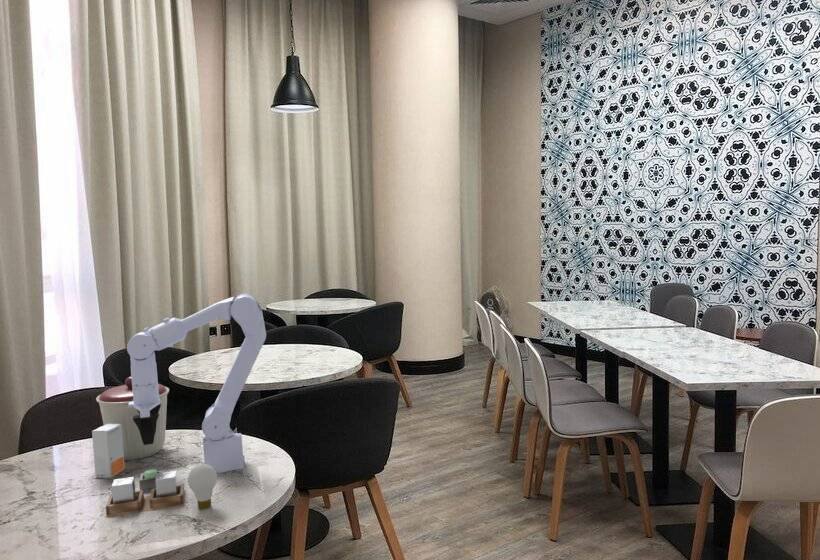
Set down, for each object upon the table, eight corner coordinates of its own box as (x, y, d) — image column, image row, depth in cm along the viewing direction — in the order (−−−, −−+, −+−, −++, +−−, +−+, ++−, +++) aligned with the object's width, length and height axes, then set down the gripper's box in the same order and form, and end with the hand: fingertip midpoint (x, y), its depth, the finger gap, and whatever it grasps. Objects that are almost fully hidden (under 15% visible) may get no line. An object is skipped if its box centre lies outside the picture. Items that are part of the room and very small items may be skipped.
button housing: (163, 485, 159) (162, 470, 159) (161, 492, 154) (160, 477, 154) (142, 488, 158) (141, 473, 157) (140, 495, 153) (139, 480, 153)
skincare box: (110, 479, 164) (106, 431, 163) (95, 478, 165) (90, 430, 164) (126, 470, 170) (122, 423, 169) (110, 469, 171) (106, 423, 170)
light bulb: (203, 519, 139) (200, 472, 138) (184, 513, 142) (180, 467, 141) (225, 508, 144) (222, 462, 143) (206, 503, 147) (202, 458, 146)
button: (158, 485, 158) (157, 468, 157) (157, 489, 155) (156, 472, 155) (145, 487, 157) (144, 470, 157) (144, 491, 154) (143, 474, 154)
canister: (125, 442, 192) (119, 369, 190) (185, 442, 190) (180, 368, 188) (86, 465, 175) (79, 385, 173) (152, 466, 172) (145, 384, 170)
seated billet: (177, 494, 150) (175, 470, 149) (177, 501, 146) (175, 477, 146) (158, 497, 149) (156, 473, 148) (157, 504, 145) (155, 480, 144)
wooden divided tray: (185, 494, 153) (184, 482, 152) (184, 509, 145) (183, 496, 144) (110, 505, 148) (109, 493, 148) (105, 521, 140) (104, 508, 140)
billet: (136, 501, 148) (134, 476, 147) (134, 508, 144) (132, 483, 143) (116, 504, 146) (114, 479, 146) (113, 511, 143) (111, 486, 142)
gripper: (129, 378, 166) (134, 432, 168) (123, 392, 153) (128, 451, 154) (160, 375, 168) (164, 428, 170) (157, 388, 155) (161, 446, 156)
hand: (149, 439), depth 162 cm, fingers open, 7 cm apart
